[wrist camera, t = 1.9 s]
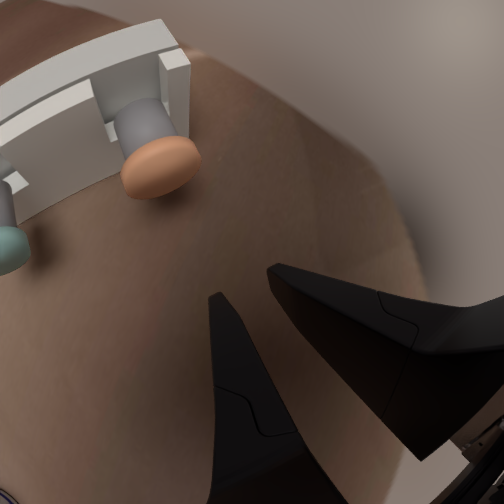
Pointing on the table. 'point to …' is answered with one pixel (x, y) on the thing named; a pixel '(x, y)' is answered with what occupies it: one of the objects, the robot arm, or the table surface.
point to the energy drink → (6, 498)
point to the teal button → (10, 234)
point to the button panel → (84, 112)
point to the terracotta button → (153, 150)
